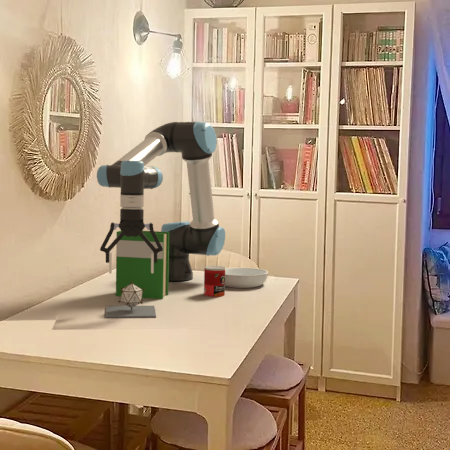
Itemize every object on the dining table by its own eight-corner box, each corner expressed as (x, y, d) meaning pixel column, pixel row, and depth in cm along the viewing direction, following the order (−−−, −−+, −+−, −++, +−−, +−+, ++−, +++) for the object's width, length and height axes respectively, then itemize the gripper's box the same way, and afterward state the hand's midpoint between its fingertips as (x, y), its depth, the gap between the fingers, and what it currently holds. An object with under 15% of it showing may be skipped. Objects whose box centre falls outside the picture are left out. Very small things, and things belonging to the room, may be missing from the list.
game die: (139, 314, 229) (139, 283, 228) (114, 312, 231) (114, 282, 230) (148, 308, 238) (148, 278, 237) (123, 307, 239) (123, 277, 238)
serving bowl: (236, 281, 299) (237, 265, 298) (277, 288, 286) (278, 271, 285) (204, 287, 283) (204, 270, 282) (246, 295, 270) (246, 277, 269)
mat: (106, 307, 241) (106, 305, 241) (154, 307, 243) (154, 305, 243) (105, 317, 225) (105, 316, 225) (156, 317, 227) (156, 315, 227)
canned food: (216, 299, 259) (217, 269, 258) (199, 296, 264) (200, 267, 263) (229, 296, 265) (229, 267, 264) (212, 293, 270) (212, 265, 269)
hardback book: (168, 296, 263) (169, 231, 261) (162, 300, 256) (163, 233, 253) (122, 293, 266) (123, 229, 264) (115, 297, 259) (116, 231, 257)
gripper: (92, 208, 226) (92, 274, 228) (171, 209, 229) (170, 274, 231) (93, 206, 233) (93, 270, 235) (169, 207, 236) (168, 270, 238)
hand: (131, 272), depth 233 cm, fingers open, 13 cm apart
